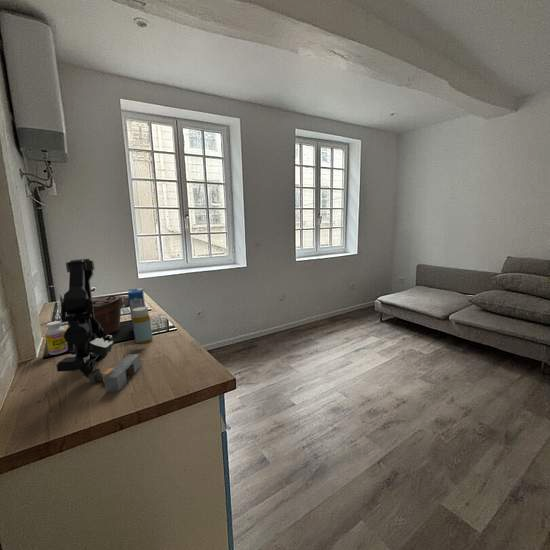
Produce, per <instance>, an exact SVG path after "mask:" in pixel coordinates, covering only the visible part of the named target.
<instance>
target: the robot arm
mask: <svg viewBox="0 0 550 550" xmlns="http://www.w3.org/2000/svg"><path fill="white" fill-rule="evenodd" d="M65 266H66V268H65V269H66V273H69V281H68V290H67V291H66V292H65V293H64V294H63V298H62V299H63V300H62V301H61V303H60V310H61V311H60V314H61V316H60V317H61V323H66V322H67V323H68V324H67V325H68V326H67V328H66V329H65V333H64V339H65V340H66V342H67V344H71V345H72V350H71V351H70V353H71V355H75V356H66V357H64V358H62V359H61V360H60V361H58V363H56V365H55V367H56V372H57V373H58V372H75V371H78V370H79V371H80V372H81V373H82V374H83V375H84V376H85V377H86V378H88V379H89V376H88V375H89V374H90V373H91V372H92V371H94V368H95V367H94V366H95V362H99V361H101V360H102V359H103V358H105V357H106V356H107V355H108V353H110V352H112V348H113V346H114V345H115V342H114V338H113V337H114V336H113V335H110V334H106V333H105V331H104V330H103V328H101V325H100V323H99V322H98V321H97V320H96V319H95V316H94V309H93V301H92V298H93V296H92V288H91V280H92V278H93V276H94V271H95V270H96V269H95V263H94V260H91V259H90V258H83V259H70V261H68V262H65Z"/></svg>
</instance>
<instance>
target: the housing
mask: <svg viewBox="0 0 550 550" xmlns="http://www.w3.org/2000/svg"><path fill="white" fill-rule="evenodd" d="M141 367H142V362H141V355H140V353H133V354H127V355H126V356H125V357H124V358H123V359H122V360H121V361H120V362H119V363H118V364H117V365H116V366H114V367H113V368H114V369H113V370H112V371H111V372H110V373H108V374H107V375H106V376H105V377H104V382H103V384H104V388H105V393H117V392H118V393H119V392H120V391H121V390H122V389H123V387H124V386H126V384H127V383H128V381H127V380H128V379H127V375H130V374H131V375H133V374H136V373H137V372H138V370H140V368H141ZM125 371H126V372H125Z"/></svg>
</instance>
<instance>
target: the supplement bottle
mask: <svg viewBox="0 0 550 550" xmlns="http://www.w3.org/2000/svg"><path fill="white" fill-rule="evenodd" d="M61 325H62V321H59V320H56V321H51V322H48V323H46V328H47V329H46V330H45V331H44V337H45V341H46V345H47V351H48V354H49V355H51V356H55V355H60V354H62V353H65V352H67V351H68V349H69V346H68V345H69V344H68V342H66V340H65V339H64V333H65V331H66V329H65V327H63V326H61Z"/></svg>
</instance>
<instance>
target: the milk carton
mask: <svg viewBox="0 0 550 550" xmlns="http://www.w3.org/2000/svg"><path fill="white" fill-rule="evenodd" d="M127 297H128V304H129V305H128V306H129V310H130V320H131V326H132V331H133V334H134V327H133V312H132V310H133V309H134V308H138V307H146V302H145V294H144V287H140V288H139V287H138V288H132V289H131V288H130V289H128V292H127Z"/></svg>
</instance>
